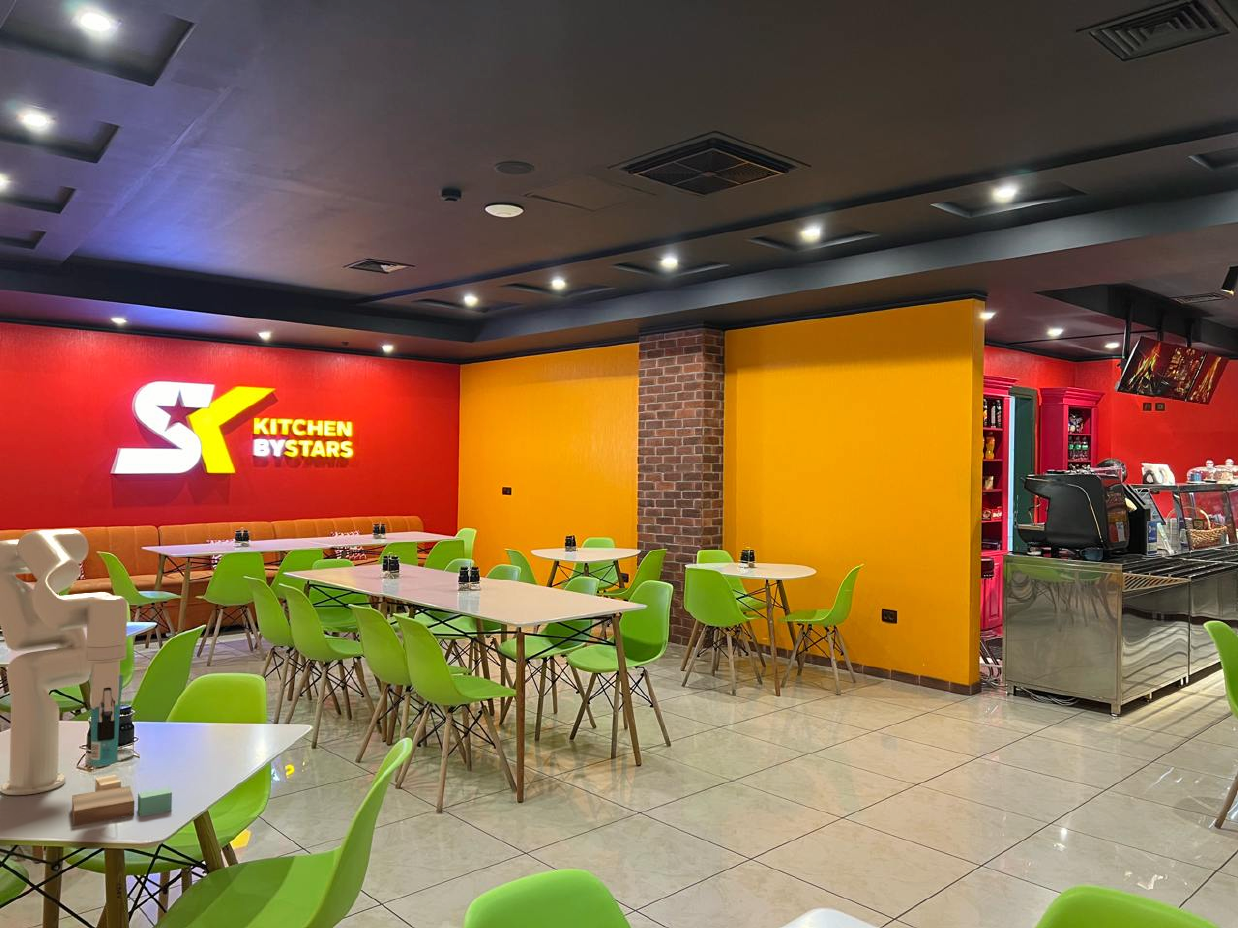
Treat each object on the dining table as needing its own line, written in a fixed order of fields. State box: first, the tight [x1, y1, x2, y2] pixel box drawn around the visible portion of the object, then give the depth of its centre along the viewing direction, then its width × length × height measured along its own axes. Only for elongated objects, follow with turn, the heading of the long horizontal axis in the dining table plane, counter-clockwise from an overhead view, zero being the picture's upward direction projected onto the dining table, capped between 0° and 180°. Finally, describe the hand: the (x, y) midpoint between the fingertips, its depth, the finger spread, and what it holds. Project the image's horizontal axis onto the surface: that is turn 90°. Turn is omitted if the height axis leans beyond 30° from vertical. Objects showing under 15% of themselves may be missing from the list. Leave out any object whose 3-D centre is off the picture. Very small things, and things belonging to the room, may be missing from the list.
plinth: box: [71, 785, 135, 826], centre depth 189 cm, size 11×11×3 cm
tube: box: [89, 674, 125, 767], centre depth 189 cm, size 7×5×19 cm, turn 96°
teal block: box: [137, 787, 173, 817], centre depth 190 cm, size 6×4×4 cm, turn 127°
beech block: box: [94, 774, 122, 792], centre depth 198 cm, size 6×4×4 cm, turn 41°
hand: (104, 735), depth 189 cm, fingers closed on tube, 4 cm apart
